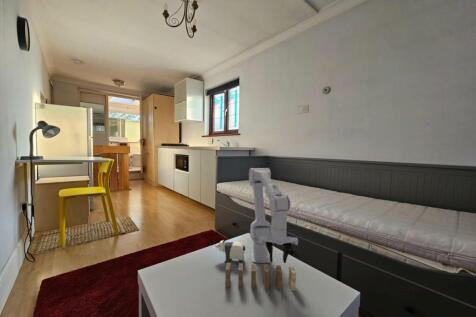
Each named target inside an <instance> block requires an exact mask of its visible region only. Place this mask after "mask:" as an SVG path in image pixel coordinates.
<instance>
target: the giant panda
mask: <svg viewBox="0 0 476 317" xmlns="http://www.w3.org/2000/svg"><path fill="white" fill-rule="evenodd" d="M215 248H216V249H217V250H219V252H223V253H225V260H224V263H225V264H227V263H231V260H237V262H236V264H237V265H239V263H241V264H243V261H244V260H245V251H246V245H245V244H244V243H242V242H239V241H230V242H229V241H227V242H226V240H225V239H223V240H221V241H219V243H215Z"/></svg>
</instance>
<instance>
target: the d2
mask: <svg viewBox="0 0 476 317" xmlns="http://www.w3.org/2000/svg"><path fill="white" fill-rule="evenodd" d="M237 270H238V277H237V279H238V280H237V282H238V283H237V288H238V289H239V288H240V289H243V282H244V281H243V280H244V279H243V278H244V276H243V275H244V274H243V273H244V263H242V264H241V263H239V264H238V269H237Z"/></svg>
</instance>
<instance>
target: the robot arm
mask: <svg viewBox="0 0 476 317" xmlns="http://www.w3.org/2000/svg"><path fill="white" fill-rule="evenodd" d="M271 175H272V171H271V169H270V168H269V167H263V168H260V167H257V168H256V167H255V168H253V167H251V168H249V171H248V182H249V185H250V186H251V187H252V190H253V203H254V204H253V205H254V214H255V215H254V216H255V219H254V220H253V221H252V222H251V223H250V226H249V227H250V229H249V236H250V240H252V241H253V242H252V243H253V250H252V252H251V255H252V256H251V260H252V261H251V262H252V263H262V264H264V263H265V264H269V263H273V261H274V260H273V258H274V257H273V253H274V247H273V244H276V245H279V246H280V245H282V246H283V252H282V261H283V264H286V263H287V258H288V257H289V254H290V252H291V251H292V249H293V246H292V245H295V246H298V245H299V239H298V237H293V236H288V235H287V228H288V226H287V224H288V223H287V221H288V220H287V219H288V212H289V210H290V209H291V200H290V198H289V196H288V195H286V194H283V193H282V191H281V190H280V188H279V187H278V185H277V184H275V183H274V182H273V181H272V179H271V177H272V176H271ZM264 188H265V189H264ZM264 193H265V195H266V197H267V198H268V200H269V209H270V215H271V223H270V221H268V220H266V213H265V209H266V208H265V201H264V200H265V198H264Z"/></svg>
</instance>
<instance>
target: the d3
mask: <svg viewBox="0 0 476 317" xmlns="http://www.w3.org/2000/svg"><path fill="white" fill-rule="evenodd" d="M256 266H257V265H256V264H255V263H251V268H250V270H251V271H250V272H251V273H250V274H251V275H250V277H251V278H250V289H252V290H253V289H255V290H256V283H257V282H256V279H257V277H256V276H257V270H256Z"/></svg>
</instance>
